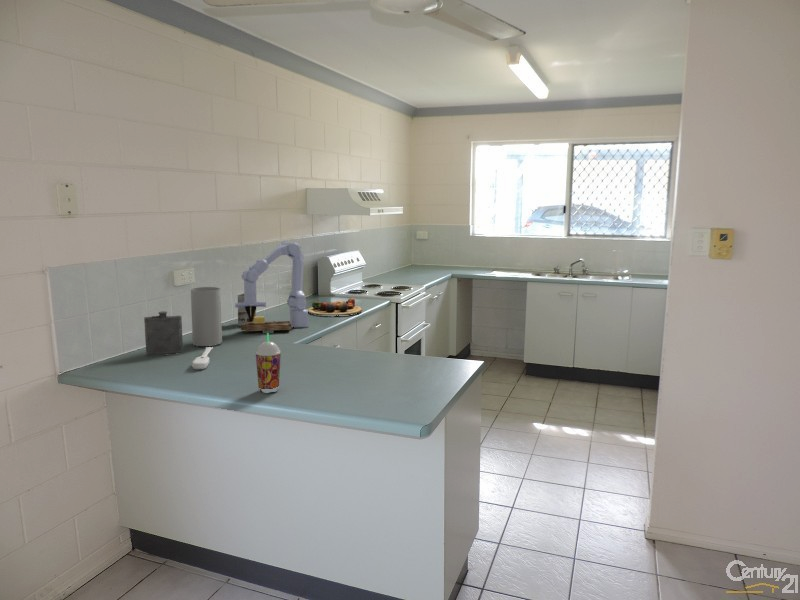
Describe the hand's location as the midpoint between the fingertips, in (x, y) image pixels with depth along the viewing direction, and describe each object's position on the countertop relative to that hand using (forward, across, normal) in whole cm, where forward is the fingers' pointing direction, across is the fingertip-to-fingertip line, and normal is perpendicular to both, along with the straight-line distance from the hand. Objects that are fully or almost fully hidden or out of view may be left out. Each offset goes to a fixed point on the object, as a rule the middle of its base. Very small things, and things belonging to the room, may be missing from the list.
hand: (251, 321), depth 288 cm
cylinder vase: (+6, -19, -22) cm, 30 cm away
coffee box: (+6, -2, +19) cm, 20 cm away
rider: (+3, +4, 0) cm, 5 cm away
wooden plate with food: (+6, +48, +49) cm, 69 cm away
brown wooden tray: (+4, +7, 0) cm, 8 cm away
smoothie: (+6, +6, -95) cm, 95 cm away
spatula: (+6, -18, -52) cm, 55 cm away
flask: (+6, -35, -37) cm, 51 cm away
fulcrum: (+5, +8, 0) cm, 10 cm away
